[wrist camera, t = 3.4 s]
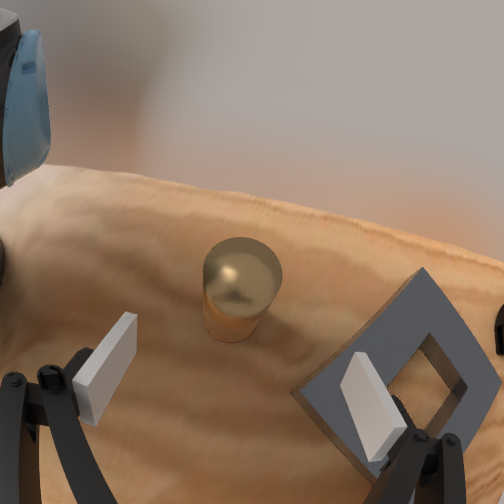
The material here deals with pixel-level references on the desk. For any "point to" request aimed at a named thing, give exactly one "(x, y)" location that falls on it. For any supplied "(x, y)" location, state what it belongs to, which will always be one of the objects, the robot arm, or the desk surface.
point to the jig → (393, 360)
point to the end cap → (499, 332)
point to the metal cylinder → (238, 287)
